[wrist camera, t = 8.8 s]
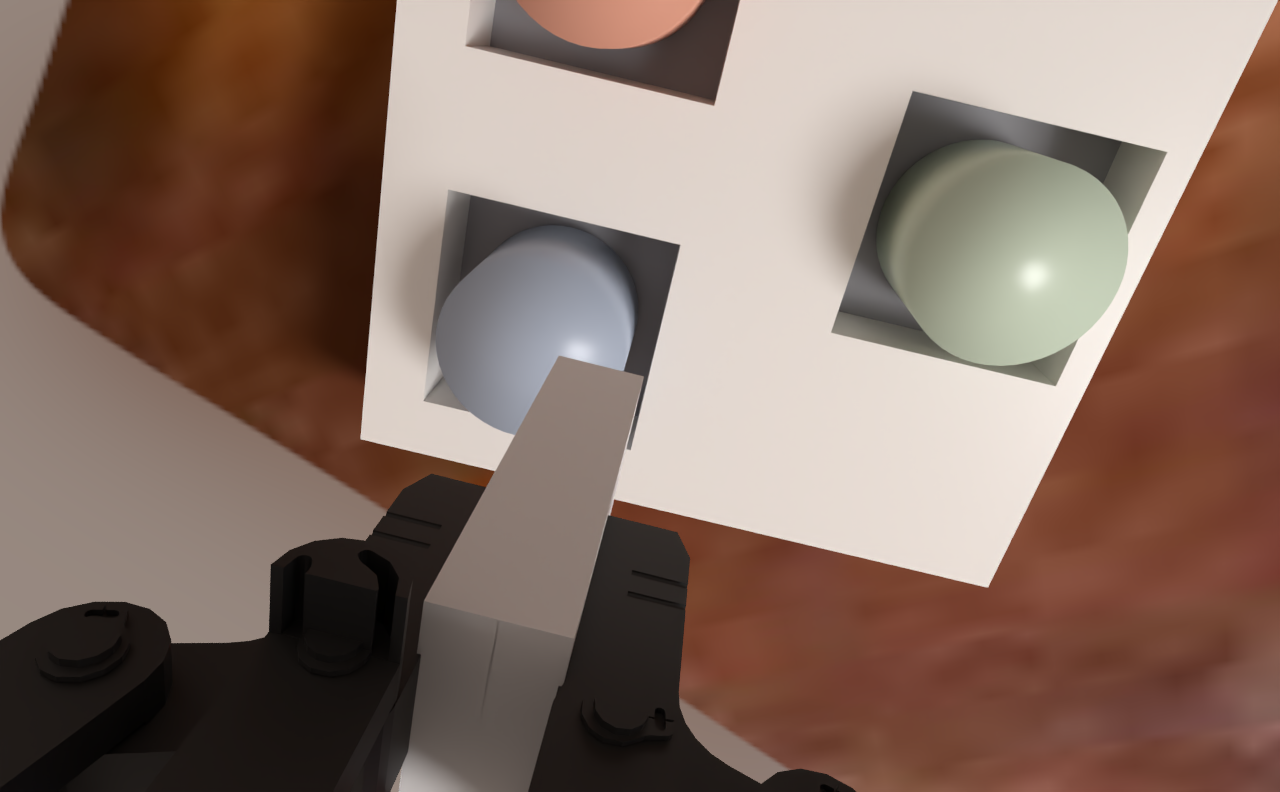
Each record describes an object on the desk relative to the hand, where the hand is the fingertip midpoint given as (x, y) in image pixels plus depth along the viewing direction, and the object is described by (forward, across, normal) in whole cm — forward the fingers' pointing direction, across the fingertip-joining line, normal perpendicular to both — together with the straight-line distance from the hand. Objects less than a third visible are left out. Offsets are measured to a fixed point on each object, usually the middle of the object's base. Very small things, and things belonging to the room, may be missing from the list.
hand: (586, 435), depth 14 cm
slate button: (+11, -2, -2) cm, 11 cm away
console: (+12, +2, +3) cm, 13 cm away
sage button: (+11, +9, +3) cm, 14 cm away
